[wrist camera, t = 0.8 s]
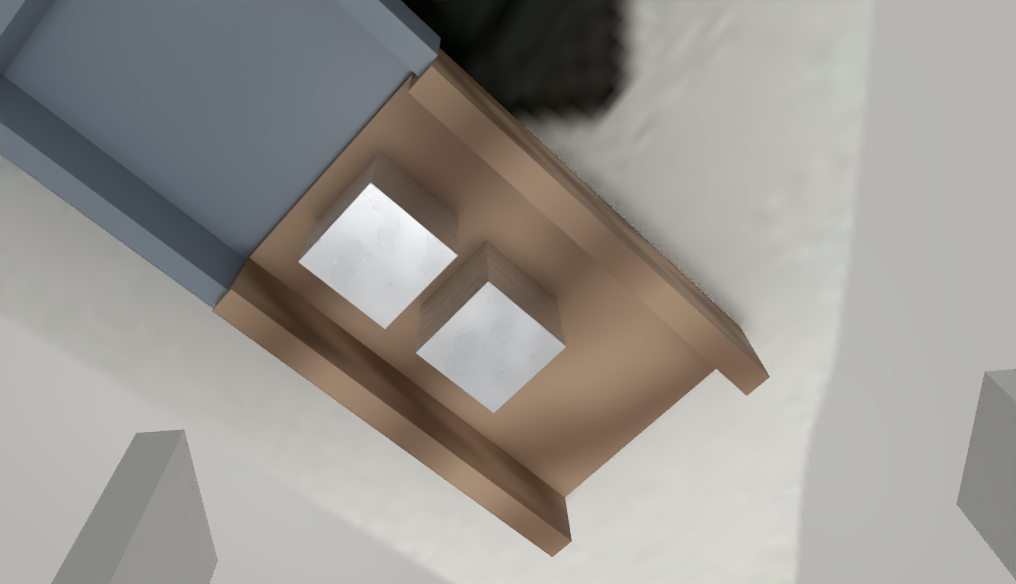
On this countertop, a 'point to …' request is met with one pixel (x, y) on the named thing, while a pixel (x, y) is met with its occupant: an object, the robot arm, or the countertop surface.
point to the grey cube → (382, 240)
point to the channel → (537, 252)
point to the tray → (195, 112)
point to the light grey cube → (489, 328)
